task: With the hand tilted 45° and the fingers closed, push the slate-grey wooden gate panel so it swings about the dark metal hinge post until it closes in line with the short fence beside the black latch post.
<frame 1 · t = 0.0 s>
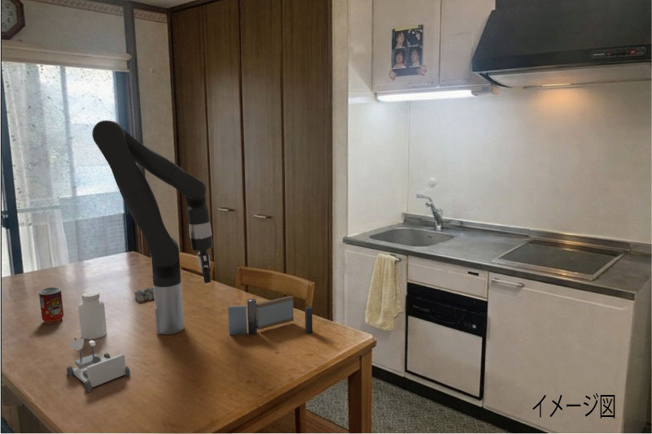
hand: (206, 279, 169), 17 cm above the table, tool pointing down, fingers open, 8 cm apart
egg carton: (148, 298, 201), on the table
pill bottle: (94, 335, 164), on the table
gate: (275, 312, 168), point 6 cm above the table, hinge at 0.0°
toy space rover: (96, 375, 138), on the table
soda can: (53, 321, 176), on the table
gate frame: (252, 333, 165), on the table
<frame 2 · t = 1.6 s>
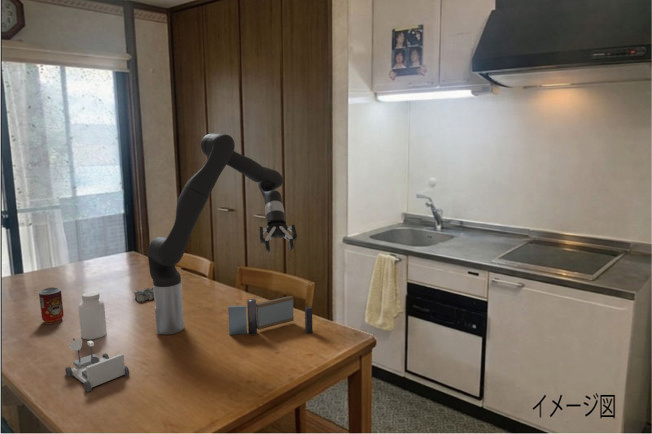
hand: (280, 250, 180), 24 cm above the table, tool tilted 45°, fingers open, 8 cm apart
nothing on the table moved.
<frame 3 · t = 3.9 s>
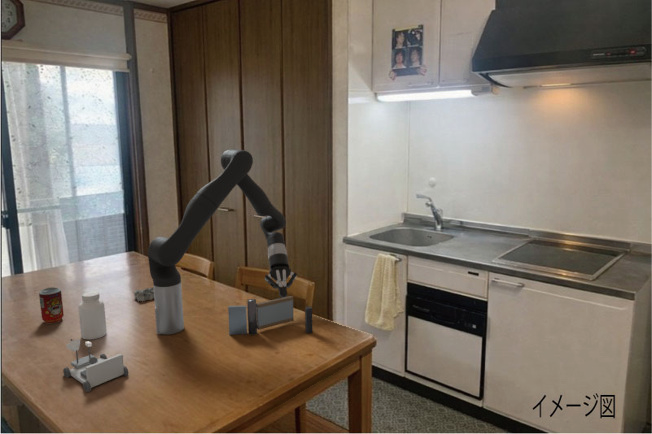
hand: (283, 297, 178), 8 cm above the table, tool tilted 45°, fingers closed
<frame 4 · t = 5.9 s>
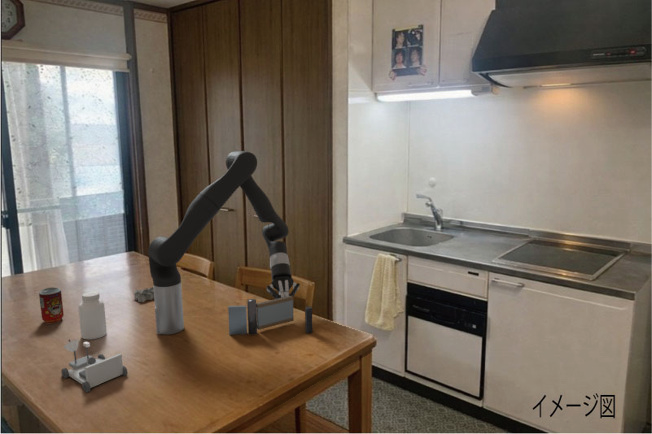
hand: (286, 308, 172), 5 cm above the table, tool tilted 45°, fingers closed
gate: (275, 312, 168), point 6 cm above the table, hinge at -0.1°, touching gripper
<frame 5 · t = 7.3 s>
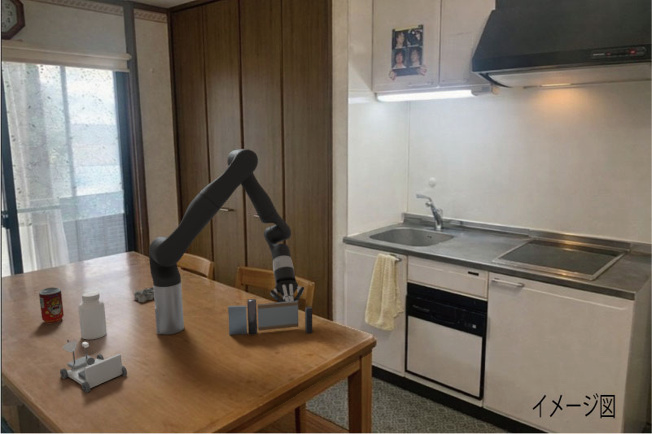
hand: (291, 313, 168), 5 cm above the table, tool tilted 45°, fingers closed
gate: (278, 315, 166), point 6 cm above the table, hinge at -20.6°, touching gripper
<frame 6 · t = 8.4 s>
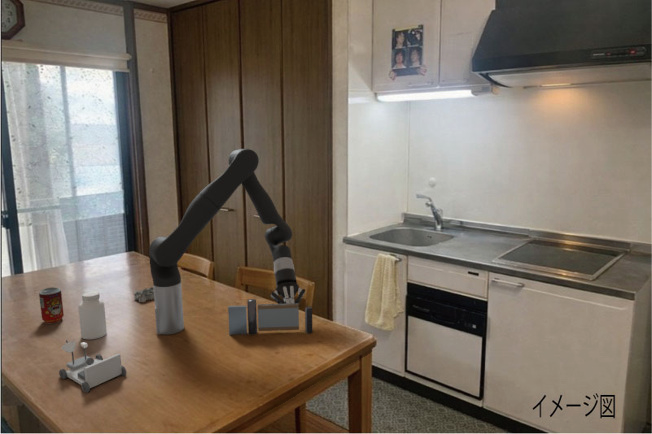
hand: (291, 316, 166), 5 cm above the table, tool tilted 45°, fingers closed
gate: (278, 317, 164), point 6 cm above the table, hinge at -30.0°, touching gripper
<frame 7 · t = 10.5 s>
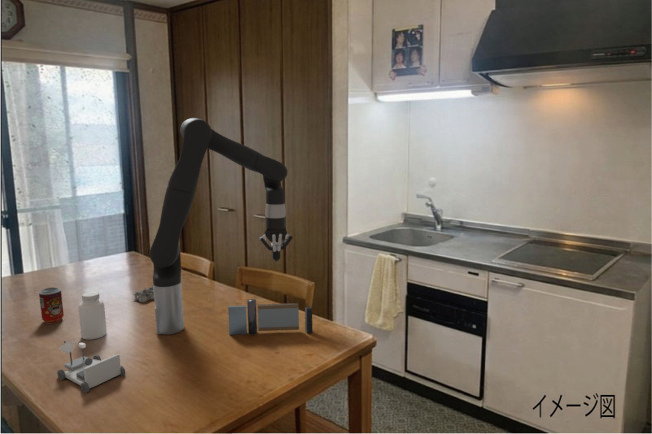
hand: (276, 260, 179), 21 cm above the table, tool pointing down, fingers closed
gate: (278, 317, 164), point 6 cm above the table, hinge at -30.0°
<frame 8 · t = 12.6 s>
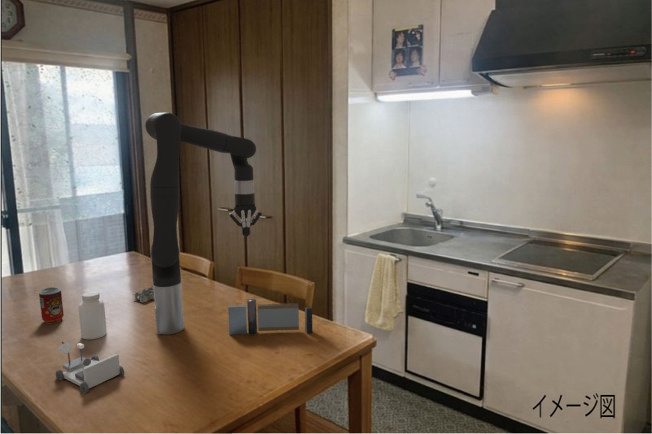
hand: (246, 236, 183), 29 cm above the table, tool pointing down, fingers closed
at the end: gate at -30° (first picture: +0°) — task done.
